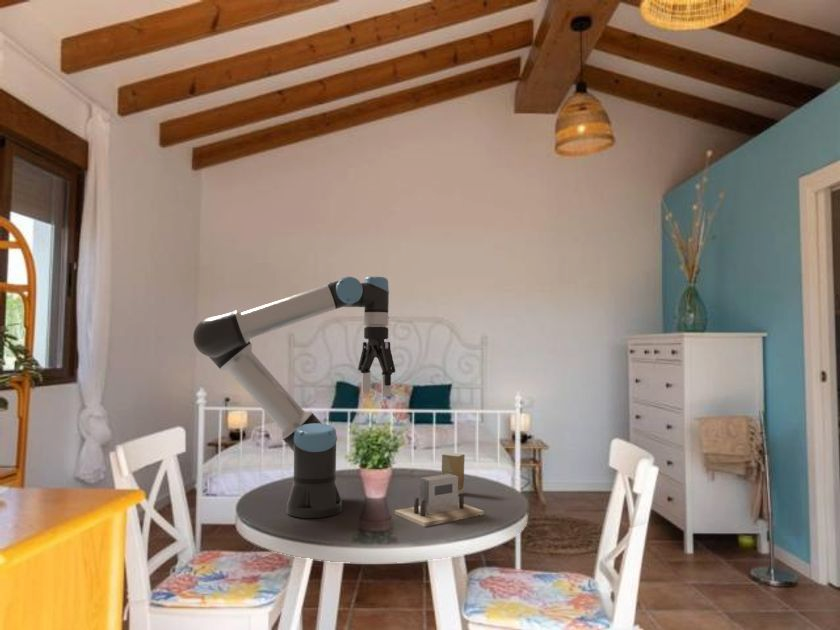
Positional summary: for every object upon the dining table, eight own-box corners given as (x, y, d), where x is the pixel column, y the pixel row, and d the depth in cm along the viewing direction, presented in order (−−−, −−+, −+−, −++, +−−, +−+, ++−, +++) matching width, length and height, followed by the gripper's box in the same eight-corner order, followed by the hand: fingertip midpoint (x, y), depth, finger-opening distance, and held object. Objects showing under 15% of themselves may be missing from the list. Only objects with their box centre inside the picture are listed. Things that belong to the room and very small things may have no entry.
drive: (428, 514, 158) (429, 480, 159) (419, 511, 162) (420, 477, 162) (458, 509, 164) (458, 476, 165) (448, 505, 167) (448, 473, 168)
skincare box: (440, 493, 187) (440, 454, 187) (446, 490, 190) (446, 451, 191) (459, 495, 184) (459, 455, 184) (464, 492, 187) (464, 453, 188)
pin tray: (424, 526, 151) (424, 506, 152) (394, 514, 163) (394, 495, 163) (483, 514, 163) (483, 496, 163) (452, 503, 174) (452, 486, 175)
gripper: (406, 325, 177) (406, 397, 176) (368, 327, 198) (368, 391, 197) (384, 325, 173) (384, 398, 172) (348, 327, 194) (347, 392, 193)
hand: (375, 395), depth 184 cm, fingers open, 13 cm apart
